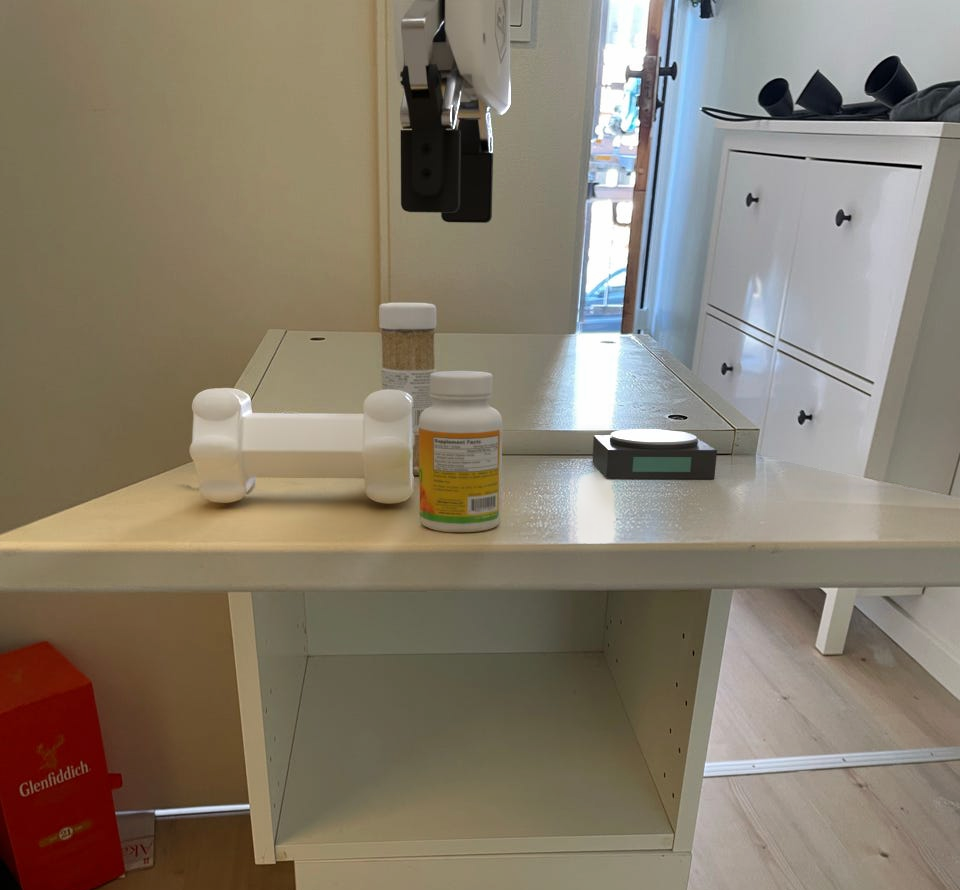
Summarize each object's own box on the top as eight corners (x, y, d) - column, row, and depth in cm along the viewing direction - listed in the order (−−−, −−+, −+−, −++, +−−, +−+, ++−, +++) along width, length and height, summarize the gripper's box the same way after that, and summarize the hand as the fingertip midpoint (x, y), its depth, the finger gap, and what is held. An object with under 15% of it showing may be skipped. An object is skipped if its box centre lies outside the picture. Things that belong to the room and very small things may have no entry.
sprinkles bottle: (420, 465, 85) (419, 302, 80) (446, 473, 81) (446, 303, 77) (373, 469, 83) (368, 302, 78) (398, 478, 79) (395, 303, 75)
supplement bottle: (431, 512, 68) (430, 368, 65) (507, 517, 67) (510, 371, 64) (410, 531, 63) (408, 375, 60) (492, 536, 62) (494, 378, 59)
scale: (691, 462, 88) (694, 429, 87) (714, 479, 81) (718, 442, 80) (592, 462, 87) (594, 428, 86) (606, 479, 80) (608, 442, 79)
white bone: (191, 515, 67) (180, 392, 64) (219, 488, 75) (210, 379, 72) (411, 515, 67) (410, 394, 64) (415, 489, 75) (414, 381, 72)
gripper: (494, -212, 43) (485, 208, 49) (543, -79, 59) (532, 226, 65) (333, -202, 45) (343, 206, 51) (424, -74, 61) (423, 224, 67)
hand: (449, 217), depth 58 cm, fingers open, 9 cm apart
